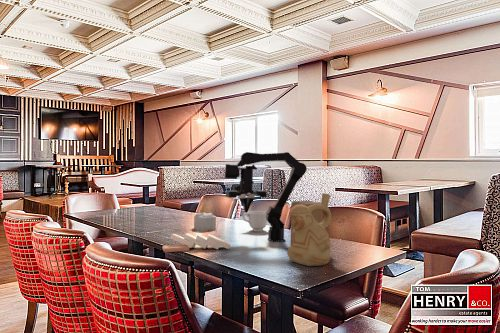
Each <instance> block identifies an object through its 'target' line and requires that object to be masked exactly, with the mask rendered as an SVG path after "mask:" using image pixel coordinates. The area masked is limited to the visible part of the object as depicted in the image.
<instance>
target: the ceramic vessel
mask: <svg viewBox="0 0 500 333" xmlns="http://www.w3.org/2000/svg"><path fill="white" fill-rule="evenodd" d="M330 199H331V194H328V193H322V194H321V201H320V203H321V204H313V205H310V206H308V207H307V206H305V205H302V204H299V205H295V206H294V207H292V208H291V207H290V210H289V213H290V225H291V224H292V227H293V228H294V229H293V231H292V240H293V243H292V245H291V244H290V246H289V247H288V249H287V252H286V253H287V254H286V255H287V257H288V259H289V260H290V261H292V262H294V263H296V264H300V265H303V266H307V267H314V266H315V267H316V266H317V267H319V266H323V265H327V264H329V262H330V260H331V252H332V251H331V250H332V249H331V244H332V243H331V240H330V235H329V233H328V231H327V228H328V226H330V223H331V221H332V213H331V210H330V208H329V201H330ZM318 210H320V211H323V214H324V215H323V216H324V218H323V219H322V222H321V223H318V222H317V221H316V220H315V219H314V217H313V215H312V212H314V211H318Z"/></svg>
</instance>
